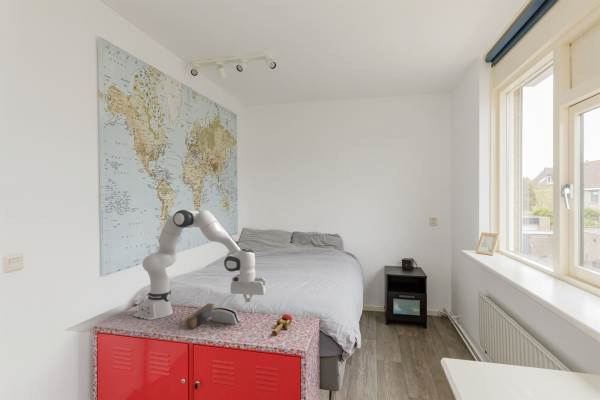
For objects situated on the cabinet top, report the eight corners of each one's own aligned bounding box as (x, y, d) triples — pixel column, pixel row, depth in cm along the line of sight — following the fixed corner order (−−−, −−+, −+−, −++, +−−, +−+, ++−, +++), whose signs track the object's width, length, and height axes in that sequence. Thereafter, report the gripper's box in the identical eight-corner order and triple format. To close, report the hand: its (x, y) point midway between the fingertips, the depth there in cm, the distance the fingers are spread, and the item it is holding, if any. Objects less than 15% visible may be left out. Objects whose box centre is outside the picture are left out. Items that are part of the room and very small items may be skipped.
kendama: (282, 339, 155) (296, 321, 172) (280, 328, 155) (293, 311, 171) (269, 339, 158) (284, 322, 175) (267, 328, 158) (281, 311, 174)
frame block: (186, 328, 165) (186, 318, 165) (208, 312, 188) (208, 303, 188) (193, 329, 164) (193, 318, 164) (214, 313, 188) (214, 303, 188)
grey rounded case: (241, 321, 175) (238, 307, 172) (237, 327, 171) (233, 312, 168) (216, 317, 181) (213, 303, 178) (212, 323, 177) (208, 309, 174)
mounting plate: (197, 326, 168) (197, 314, 168) (211, 315, 184) (211, 304, 184) (197, 326, 168) (197, 314, 168) (211, 315, 184) (211, 304, 184)
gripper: (266, 276, 173) (267, 300, 173) (233, 275, 177) (233, 299, 177) (263, 279, 167) (263, 304, 166) (229, 278, 171) (229, 302, 171)
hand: (248, 301), depth 172 cm, fingers closed
